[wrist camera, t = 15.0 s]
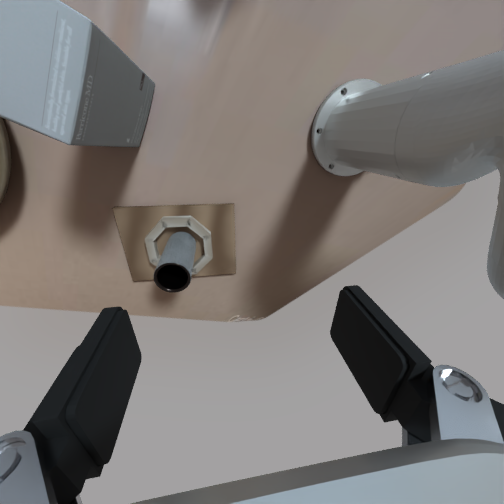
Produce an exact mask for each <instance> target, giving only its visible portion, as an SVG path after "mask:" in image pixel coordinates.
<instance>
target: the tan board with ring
mask: <svg viewBox="0 0 504 504" xmlns="http://www.w3.org/2000/svg"><path fill="white" fill-rule="evenodd" d="M113 212H114V216H115V219H116V223H117V226H118V230H119V233H120V237H121V240H122V244H123V247H124V251H125V254H126V258H127V261H128V265H129V268H130V272H131V275H132V279H133V281H142V280H154V277H153V276H154V272H155V269H156V267H157V265H158V262H159V260H160V258H161V255H162V253H163V251H164V249H165V246H166V244H167V242H168V240H169V238H170V236H171V235H172V234H174V233H176V232H186V233H189V234H190V235H192V236H193V237H194V239H195V241H196V251H195V257H194V263H193V270H192V276H191V277H195V276H208V275H222V274H235V273H236V257H235V217H234V204H200V205H167V206H133V207H114V208H113Z"/></svg>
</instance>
